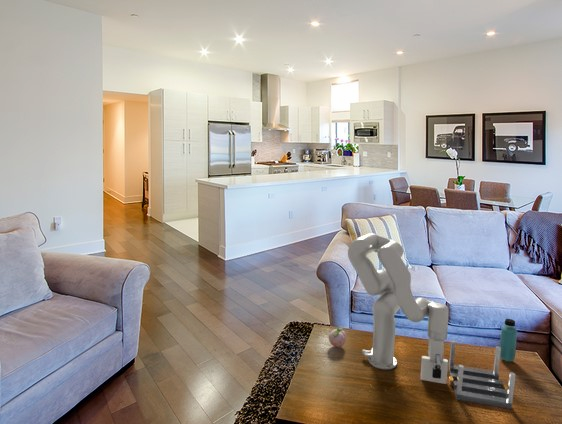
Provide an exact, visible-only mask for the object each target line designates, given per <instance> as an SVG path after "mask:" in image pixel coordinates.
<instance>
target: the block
mask: <svg viewBox="0 0 562 424" xmlns="http://www.w3.org/2000/svg"><path fill="white" fill-rule="evenodd" d="M435 361H436V360H435ZM435 366H436V363H435ZM433 368H434V366H433V362H430V360H429V355H428V356H426V355H421V366H420V380H421V381H425V382H426V381H427V382H432V383H438V384H442V385H443V384H445V385H447V379H448V371H449V360H448V359H446V358H443V363H441V379H439V378H433V377H432V373H433Z"/></svg>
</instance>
